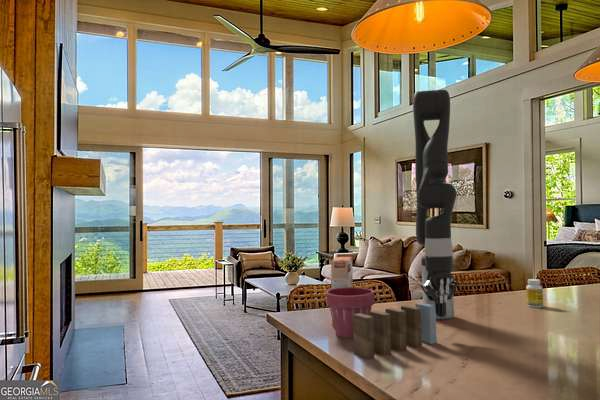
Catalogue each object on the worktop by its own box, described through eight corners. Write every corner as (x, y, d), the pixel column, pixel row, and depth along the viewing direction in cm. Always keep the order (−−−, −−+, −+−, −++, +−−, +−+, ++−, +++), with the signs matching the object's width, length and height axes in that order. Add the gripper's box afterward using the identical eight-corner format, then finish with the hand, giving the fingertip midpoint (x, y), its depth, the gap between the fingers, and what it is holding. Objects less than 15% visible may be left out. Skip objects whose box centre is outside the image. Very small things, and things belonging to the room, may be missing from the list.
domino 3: (392, 345, 127) (391, 307, 127) (406, 349, 123) (405, 310, 123) (386, 346, 126) (385, 308, 126) (400, 351, 121) (398, 312, 122)
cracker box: (350, 327, 148) (348, 260, 148) (331, 327, 149) (329, 260, 150) (354, 317, 162) (352, 256, 162) (337, 317, 163) (335, 256, 163)
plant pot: (363, 343, 130) (361, 296, 130) (318, 337, 137) (317, 293, 137) (383, 331, 142) (381, 288, 142) (341, 326, 149) (339, 285, 149)
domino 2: (377, 348, 124) (376, 310, 124) (391, 353, 120) (389, 313, 120) (370, 350, 123) (369, 311, 123) (384, 355, 119) (383, 314, 119)
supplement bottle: (530, 304, 175) (529, 278, 175) (545, 306, 171) (544, 279, 171) (524, 306, 171) (523, 280, 172) (540, 308, 167) (538, 281, 168)
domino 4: (407, 341, 130) (406, 305, 130) (422, 346, 125) (420, 308, 126) (402, 343, 129) (400, 306, 129) (415, 347, 124) (414, 309, 125)
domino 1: (360, 352, 121) (359, 313, 122) (374, 357, 117) (372, 316, 117) (354, 354, 120) (352, 314, 120) (367, 359, 116) (365, 317, 116)
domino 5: (422, 338, 133) (421, 302, 133) (436, 342, 128) (435, 305, 129) (416, 339, 132) (415, 303, 132) (430, 343, 127) (429, 306, 127)
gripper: (444, 251, 140) (446, 310, 140) (412, 255, 133) (414, 316, 133) (465, 253, 134) (467, 315, 133) (432, 256, 127) (434, 321, 126)
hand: (440, 315), depth 133 cm, fingers closed
